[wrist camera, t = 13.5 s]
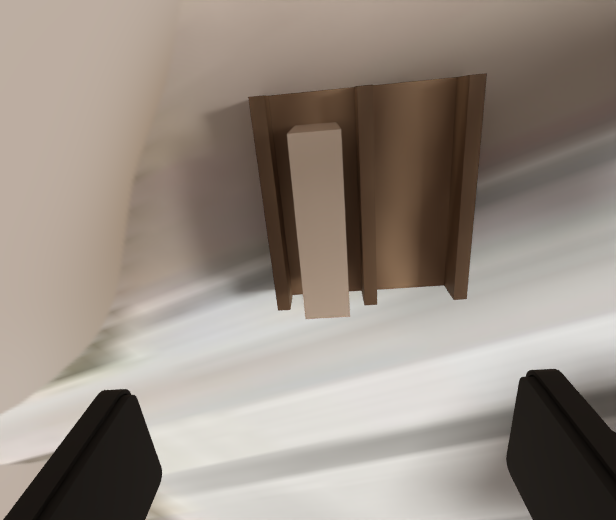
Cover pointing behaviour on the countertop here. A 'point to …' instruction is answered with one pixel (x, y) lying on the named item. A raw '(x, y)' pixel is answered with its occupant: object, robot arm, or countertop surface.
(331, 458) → the countertop surface
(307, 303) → the beige rectangular block
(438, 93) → the walnut rack
